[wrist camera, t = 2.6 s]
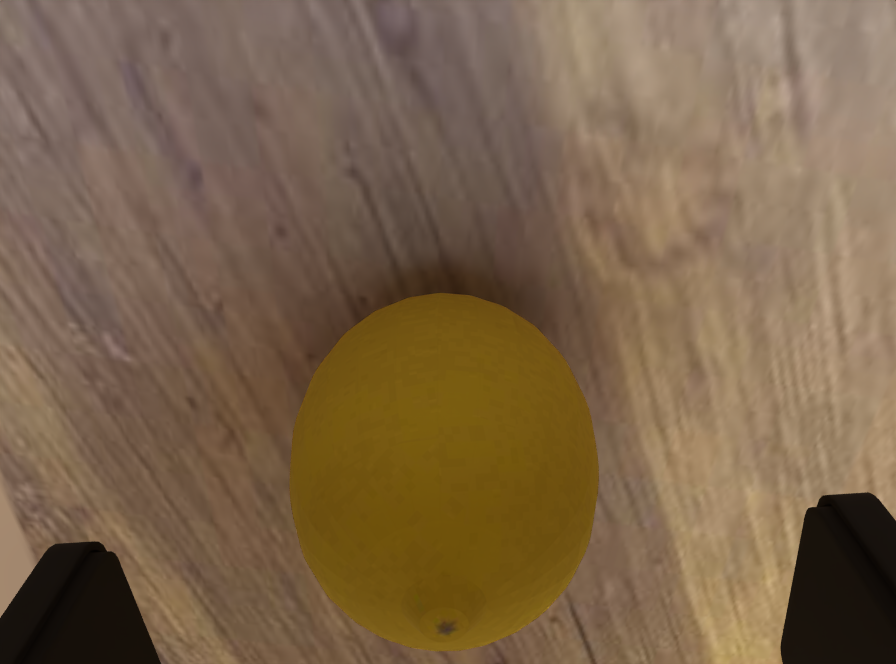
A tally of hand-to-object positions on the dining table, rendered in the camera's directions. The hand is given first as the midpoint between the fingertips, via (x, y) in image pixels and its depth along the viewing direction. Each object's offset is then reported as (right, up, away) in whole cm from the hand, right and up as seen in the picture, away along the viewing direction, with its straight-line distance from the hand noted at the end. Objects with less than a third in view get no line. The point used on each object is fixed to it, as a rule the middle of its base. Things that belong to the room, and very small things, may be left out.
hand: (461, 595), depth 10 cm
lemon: (0, +3, +7) cm, 8 cm away
